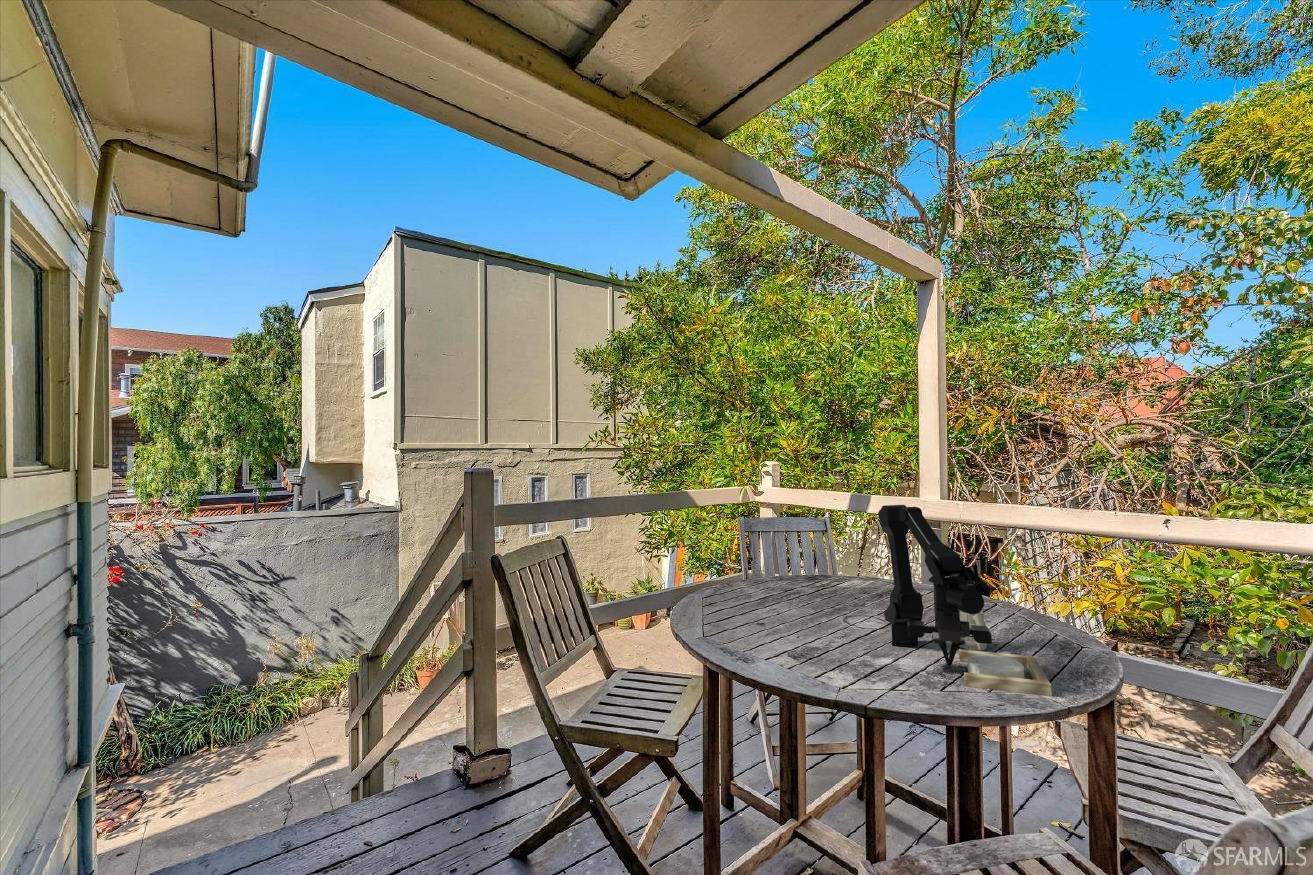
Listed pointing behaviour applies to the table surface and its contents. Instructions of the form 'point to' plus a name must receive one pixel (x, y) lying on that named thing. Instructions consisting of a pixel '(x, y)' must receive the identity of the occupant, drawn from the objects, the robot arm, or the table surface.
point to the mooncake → (995, 666)
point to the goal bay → (1035, 686)
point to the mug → (973, 620)
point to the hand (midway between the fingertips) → (949, 665)
